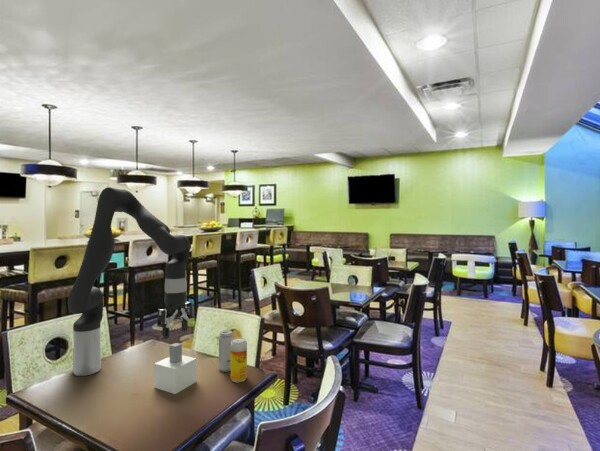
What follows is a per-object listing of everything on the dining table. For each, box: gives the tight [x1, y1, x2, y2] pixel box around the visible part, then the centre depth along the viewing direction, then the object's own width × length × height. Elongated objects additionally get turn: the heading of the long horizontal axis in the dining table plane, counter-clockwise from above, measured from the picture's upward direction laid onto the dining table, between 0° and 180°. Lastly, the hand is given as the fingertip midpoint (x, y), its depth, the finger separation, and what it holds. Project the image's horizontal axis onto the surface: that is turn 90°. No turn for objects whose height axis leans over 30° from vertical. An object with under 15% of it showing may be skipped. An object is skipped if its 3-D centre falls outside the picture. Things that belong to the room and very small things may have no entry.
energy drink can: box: [218, 329, 235, 373], centre depth 139 cm, size 6×6×15 cm
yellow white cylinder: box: [230, 337, 248, 383], centre depth 130 cm, size 6×6×15 cm
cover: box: [153, 342, 197, 395], centre depth 126 cm, size 10×10×15 cm
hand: (175, 334), depth 126 cm, fingers open, 8 cm apart
